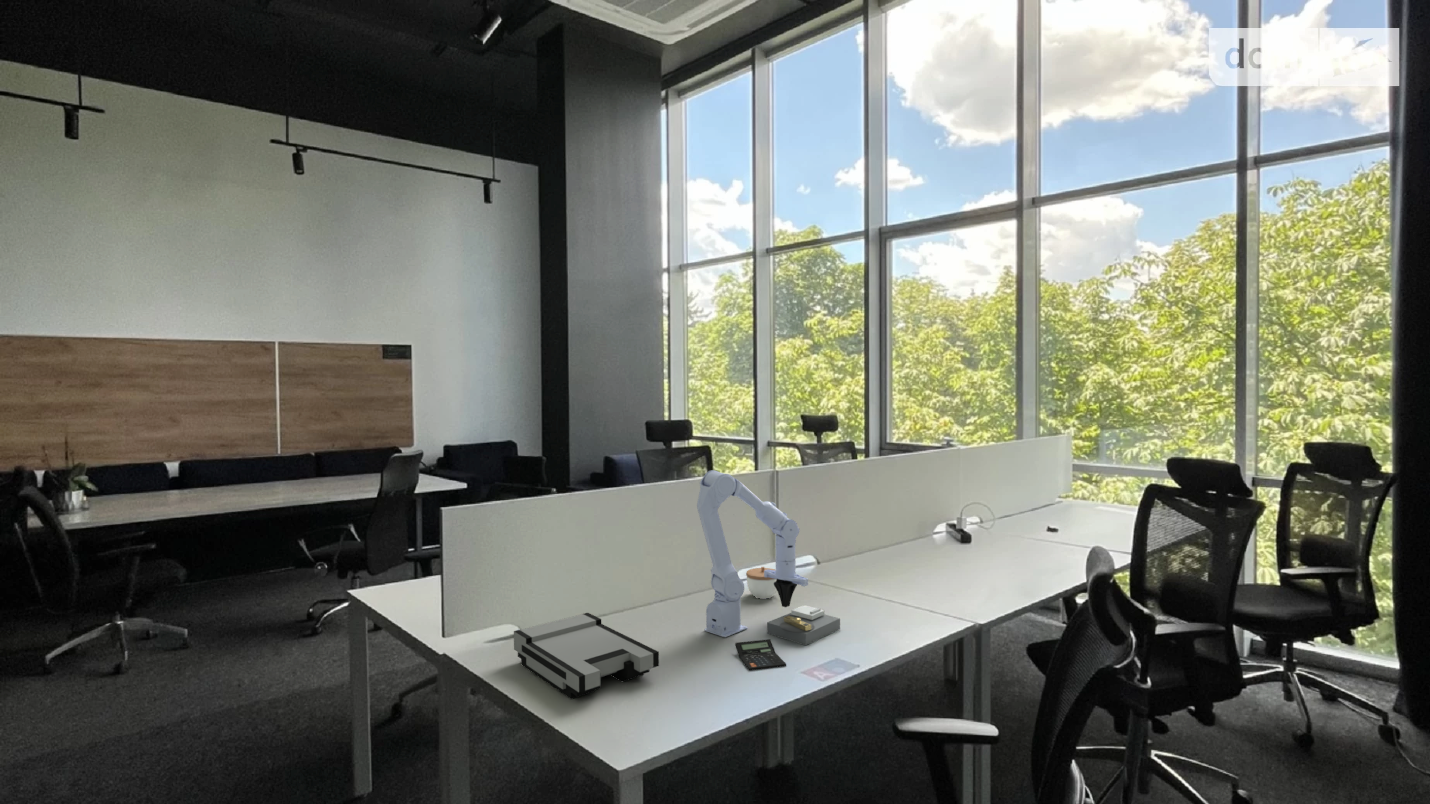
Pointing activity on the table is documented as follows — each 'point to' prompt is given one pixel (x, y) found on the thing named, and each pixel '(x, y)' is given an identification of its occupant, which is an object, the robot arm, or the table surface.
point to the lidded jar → (760, 583)
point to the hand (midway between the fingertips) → (785, 606)
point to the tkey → (797, 623)
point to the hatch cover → (807, 612)
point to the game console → (581, 654)
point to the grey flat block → (818, 630)
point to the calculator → (759, 655)
